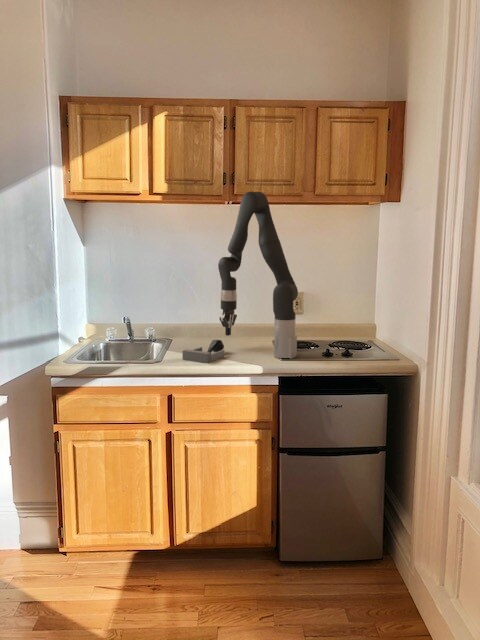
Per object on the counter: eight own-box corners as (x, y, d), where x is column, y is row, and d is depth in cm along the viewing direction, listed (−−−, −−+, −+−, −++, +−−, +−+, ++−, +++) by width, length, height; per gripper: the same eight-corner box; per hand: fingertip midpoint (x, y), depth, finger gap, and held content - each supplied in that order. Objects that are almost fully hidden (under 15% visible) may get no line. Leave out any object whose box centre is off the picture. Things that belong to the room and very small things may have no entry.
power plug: (200, 354, 228) (212, 335, 235) (206, 365, 233) (218, 347, 240) (210, 356, 225) (222, 337, 232) (216, 367, 230) (228, 348, 237)
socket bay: (224, 356, 228) (224, 347, 228) (207, 363, 216) (207, 354, 216) (200, 353, 235) (200, 344, 234) (182, 359, 223) (182, 350, 222)
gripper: (228, 301, 233) (227, 338, 236) (242, 298, 244) (241, 333, 247) (214, 300, 236) (214, 336, 239) (228, 297, 248) (228, 332, 251)
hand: (228, 335), depth 243 cm, fingers closed
